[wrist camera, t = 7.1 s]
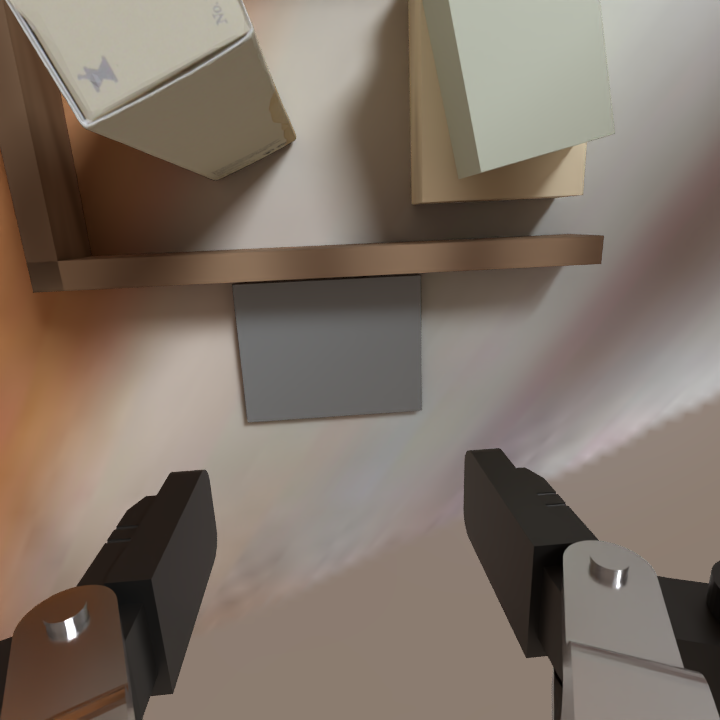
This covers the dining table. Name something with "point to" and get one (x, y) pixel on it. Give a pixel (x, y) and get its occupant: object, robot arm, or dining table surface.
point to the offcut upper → (519, 77)
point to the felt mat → (330, 346)
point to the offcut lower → (435, 154)
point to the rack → (85, 272)
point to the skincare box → (163, 77)
